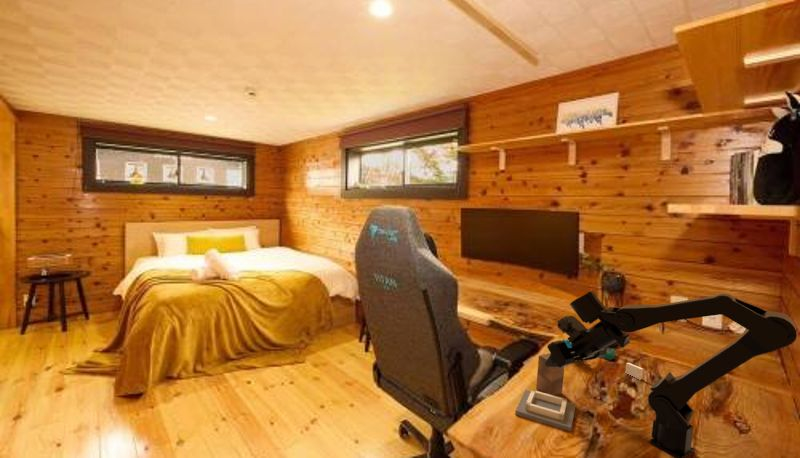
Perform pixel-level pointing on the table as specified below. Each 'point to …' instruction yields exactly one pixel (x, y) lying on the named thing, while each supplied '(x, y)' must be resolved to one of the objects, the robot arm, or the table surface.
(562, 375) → the block
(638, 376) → the eraser
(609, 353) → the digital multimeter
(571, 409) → the socket plate
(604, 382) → the table surface
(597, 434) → the table surface
